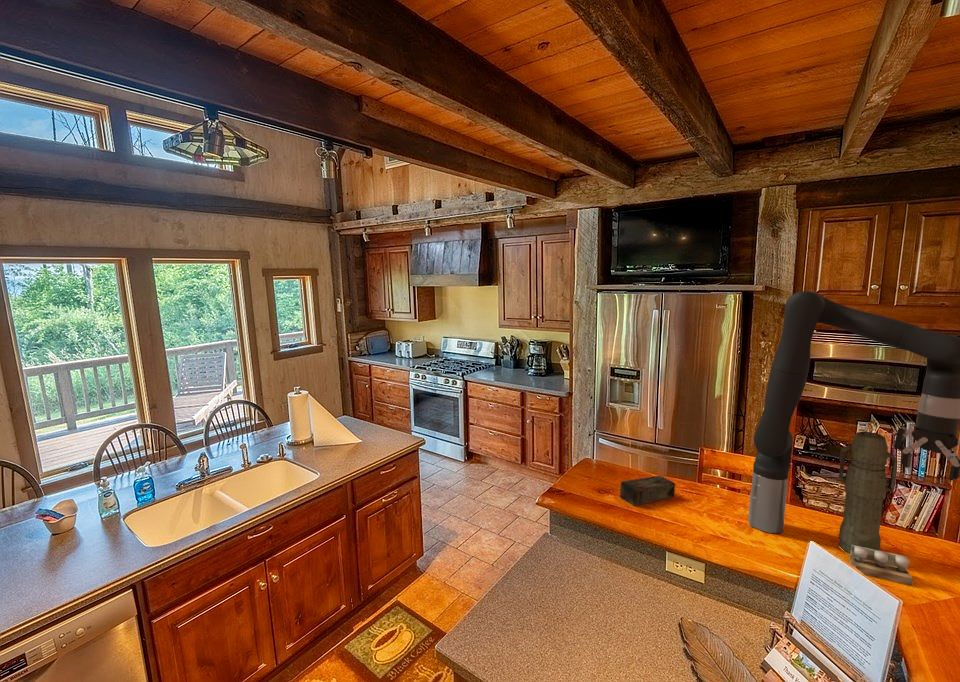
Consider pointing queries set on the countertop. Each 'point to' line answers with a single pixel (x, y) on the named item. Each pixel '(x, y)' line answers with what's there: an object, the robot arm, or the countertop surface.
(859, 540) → the thermos
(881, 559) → the button middle
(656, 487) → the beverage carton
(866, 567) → the button board
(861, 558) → the button left
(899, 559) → the button right
